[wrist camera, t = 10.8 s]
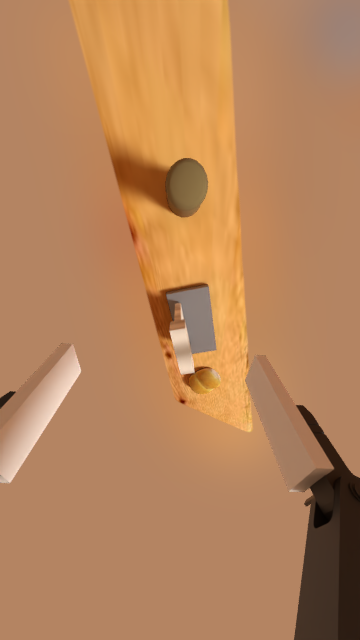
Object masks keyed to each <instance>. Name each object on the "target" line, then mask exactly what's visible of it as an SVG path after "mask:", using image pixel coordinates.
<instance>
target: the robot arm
mask: <svg viewBox="0 0 360 640" xmlns="http://www.w3.org/2000/svg"><path fill="white" fill-rule="evenodd" d="M80 373H81V369H80V366H79V362H78V359H77V356H76V353H75V350H74V347H73V344H65V343H61V344H60V346H59V347H58V348H57V349H56V350H55V351H54V352H53V353H52V354H51V355H50V356H49V357H48V358H47V360H46V361H45V362H44V363H43V364H42V365H41V366H40V367H39V368H38V369H37V370H36V371H35V372H34V373H33V375H32V376H31V377H30V378H29V379H28V380H27V381H26V382H25V383H24V384H23V385H22V386H21V387H20V388H19V390H18V391H17V392H11V391H10V392H9V393H7V394H6V395H4V396H3V397H1V398H0V483H10V482H11V481H12V479H13V478H14V476H15V474H16V473H17V471H18V469H19V468H20V466H21V465H22V463H23V462H24V460H25V459H26V457H27V456H28V454H29V452H30V451H31V449H32V448H33V446H34V445H35V443H36V441H37V440H38V438H39V437H40V435H41V434H42V432H43V431H44V429H45V427H46V425H47V424H48V423H49V421H50V420H51V418H52V416H53V415H54V413H55V412H56V410H57V409H58V407H59V405H60V404H61V402H62V401H63V399H64V398H65V396H66V394H67V393H68V391H69V390H70V388H71V387H72V385H73V384H74V382H75V380H76V379H77V377H78V376H79V374H80ZM245 381H246V384H247V386H248V389H249V391H250V394H251V397H252V399H253V402H254V404H255V407H256V409H257V412H258V414H259V417H260V419H261V422H262V424H263V427H264V429H265V432H266V435H267V437H268V440H269V442H270V445H271V447H272V450H273V452H274V455H275V458H276V460H277V463H278V465H279V468H280V470H281V473H282V475H283V478H284V480H285V483H286V486H287V488H288V491H291V492H292V491H293V492H305V491H306V490H307V489H308V488H310V489H311V491H312V493H313V496H311V497H310V498H308V499H307V500H306V501H305V503H304V504H305V505H306V506H308V505H310V504H311V508H310V515H309V523H308V531H307V540H306V548H305V556H304V564H303V572H302V580H301V588H300V596H299V605H298V613H297V621H296V629H295V637H294V640H360V478H359V477H356V476H355V475H353V474H352V473H351V472H350V470H349V469H348V468H347V466H346V465H345V463H344V462H343V461H342V459H341V457H340V456H339V454H338V453H337V451H336V450H335V448H334V447H333V446H332V444H331V442H330V441H329V439H328V438H327V436H326V435H325V434H324V432H323V430H322V429H321V427H320V426H319V425H318V423H317V421H316V420H315V418H314V416H313V415H312V414H311V413H310V412H309V411H308V410H307V409H306V408H305V407H304V406H303V405H295V403H294V402H293V400H292V398H291V397H290V395H289V393H288V392H287V390H286V389H285V387H284V385H283V384H282V382H281V380H280V379H279V377H278V375H277V374H276V372H275V371H274V369H273V367H272V366H271V364H270V362H269V361H268V359H267V357H266V356H264V355H255V357H254V359H253V362H252V364H251V367H250V369H249V372H248V374H247V377H246V379H245Z"/></svg>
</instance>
